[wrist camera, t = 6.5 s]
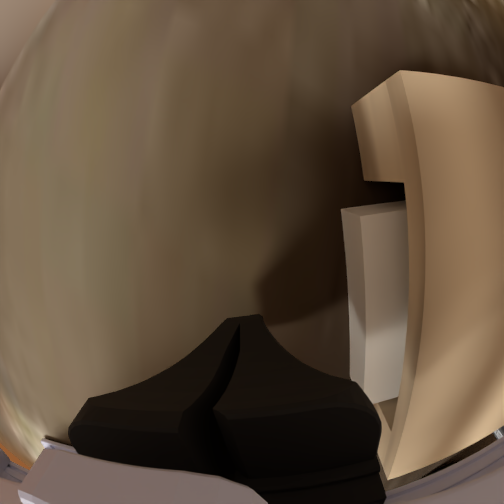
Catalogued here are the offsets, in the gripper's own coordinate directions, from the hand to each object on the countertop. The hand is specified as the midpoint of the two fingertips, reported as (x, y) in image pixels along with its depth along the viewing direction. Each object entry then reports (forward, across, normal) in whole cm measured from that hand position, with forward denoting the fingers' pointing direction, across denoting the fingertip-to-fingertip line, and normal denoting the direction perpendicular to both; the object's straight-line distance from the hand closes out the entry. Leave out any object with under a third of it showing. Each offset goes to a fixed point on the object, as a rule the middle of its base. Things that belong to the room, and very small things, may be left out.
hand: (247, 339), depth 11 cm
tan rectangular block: (+1, -9, 0) cm, 9 cm away
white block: (+2, -7, 0) cm, 7 cm away
